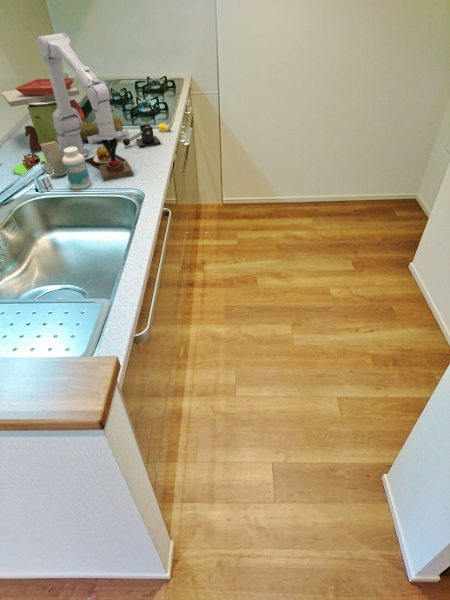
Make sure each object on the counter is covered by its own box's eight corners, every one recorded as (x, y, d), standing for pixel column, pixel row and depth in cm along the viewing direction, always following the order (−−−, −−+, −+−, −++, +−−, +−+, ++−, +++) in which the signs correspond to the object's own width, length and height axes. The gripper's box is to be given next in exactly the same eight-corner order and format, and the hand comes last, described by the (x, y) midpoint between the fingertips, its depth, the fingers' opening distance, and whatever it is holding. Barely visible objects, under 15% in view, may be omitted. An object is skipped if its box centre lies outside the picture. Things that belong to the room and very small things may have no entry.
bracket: (140, 148, 172) (137, 130, 167) (136, 141, 178) (133, 124, 173) (160, 144, 174) (158, 127, 170) (156, 138, 180) (153, 121, 175)
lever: (125, 147, 172) (122, 141, 170) (124, 145, 174) (121, 139, 172) (151, 133, 172) (148, 126, 170) (150, 130, 175) (146, 124, 172)
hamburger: (110, 152, 169) (107, 139, 165) (125, 160, 162) (122, 147, 159) (84, 160, 163) (81, 147, 160) (99, 169, 157) (95, 155, 153)
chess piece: (29, 151, 172) (19, 127, 167) (39, 148, 175) (30, 123, 170) (34, 152, 170) (24, 127, 164) (45, 148, 173) (35, 124, 167)
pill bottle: (72, 181, 149) (61, 145, 140) (92, 180, 149) (83, 144, 140) (68, 190, 143) (57, 153, 134) (89, 189, 144) (79, 152, 135)
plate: (62, 107, 165) (61, 103, 164) (12, 108, 165) (10, 104, 164) (76, 94, 181) (75, 90, 180) (30, 95, 181) (29, 91, 180)
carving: (51, 178, 149) (39, 144, 144) (50, 176, 155) (39, 143, 150) (68, 174, 151) (57, 141, 146) (67, 172, 157) (56, 140, 152)
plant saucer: (16, 96, 165) (13, 87, 163) (38, 86, 179) (36, 78, 176) (57, 96, 162) (54, 87, 160) (76, 86, 176) (74, 78, 174)
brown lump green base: (35, 178, 152) (29, 163, 147) (8, 171, 157) (1, 156, 153) (63, 163, 161) (59, 148, 157) (37, 157, 167) (31, 142, 162)
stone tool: (81, 133, 183) (79, 147, 177) (74, 115, 175) (72, 129, 170) (125, 130, 184) (125, 143, 179) (121, 112, 176) (120, 125, 171)
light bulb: (156, 130, 186) (159, 127, 188) (169, 135, 186) (171, 132, 189) (157, 123, 184) (160, 121, 186) (170, 128, 184) (172, 125, 186)
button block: (104, 181, 149) (101, 170, 146) (99, 170, 156) (97, 160, 153) (133, 175, 152) (131, 165, 149) (127, 165, 159) (125, 155, 156)
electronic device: (10, 107, 162) (9, 101, 160) (1, 94, 174) (-1, 89, 173) (80, 94, 173) (79, 89, 171) (66, 83, 185) (65, 79, 184)
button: (110, 166, 149) (109, 162, 148) (108, 163, 152) (107, 158, 151) (120, 165, 150) (119, 160, 149) (118, 161, 153) (117, 157, 152)
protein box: (74, 140, 180) (64, 104, 170) (39, 144, 178) (26, 107, 167) (76, 133, 188) (66, 97, 177) (42, 136, 185) (30, 100, 175)
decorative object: (81, 139, 184) (70, 127, 192) (89, 137, 185) (77, 126, 194) (74, 109, 174) (62, 98, 182) (82, 107, 175) (70, 96, 184)
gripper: (85, 128, 136) (95, 166, 145) (127, 122, 140) (134, 159, 149) (83, 122, 141) (92, 159, 150) (123, 116, 145) (130, 153, 154)
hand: (113, 159), depth 150 cm, fingers closed
